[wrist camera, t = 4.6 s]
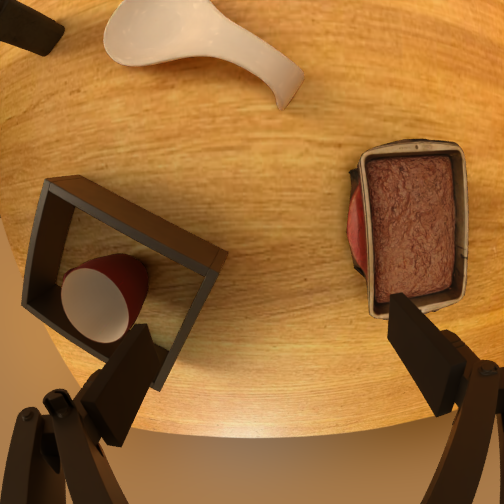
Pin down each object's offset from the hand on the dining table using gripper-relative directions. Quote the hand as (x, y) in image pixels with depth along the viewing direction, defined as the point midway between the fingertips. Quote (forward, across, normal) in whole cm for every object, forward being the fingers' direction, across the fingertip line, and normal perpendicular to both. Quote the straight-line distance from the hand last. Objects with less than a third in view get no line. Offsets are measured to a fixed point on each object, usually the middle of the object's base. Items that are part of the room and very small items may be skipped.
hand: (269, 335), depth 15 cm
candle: (+20, -26, +34) cm, 47 cm away
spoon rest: (+19, -4, +23) cm, 31 cm away
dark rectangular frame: (+19, -18, -1) cm, 26 cm away
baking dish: (+19, +16, +1) cm, 25 cm away
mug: (+19, -18, -1) cm, 26 cm away
